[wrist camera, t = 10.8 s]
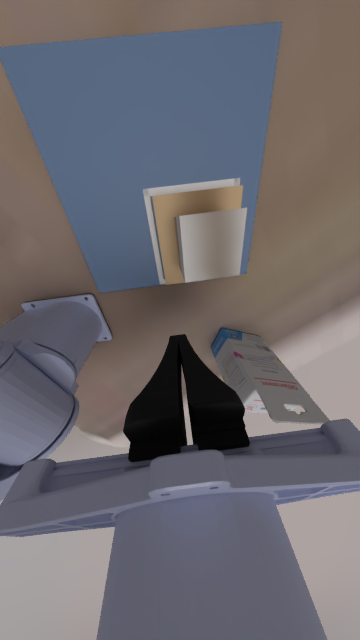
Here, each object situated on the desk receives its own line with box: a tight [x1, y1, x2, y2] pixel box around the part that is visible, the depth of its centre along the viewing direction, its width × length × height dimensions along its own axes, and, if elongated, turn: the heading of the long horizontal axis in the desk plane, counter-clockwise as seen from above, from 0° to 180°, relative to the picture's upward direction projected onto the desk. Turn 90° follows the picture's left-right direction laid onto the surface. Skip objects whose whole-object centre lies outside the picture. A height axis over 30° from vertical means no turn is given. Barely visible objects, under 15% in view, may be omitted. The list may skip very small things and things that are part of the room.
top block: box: [174, 208, 247, 283], centre depth 13 cm, size 4×4×5 cm
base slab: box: [152, 185, 243, 285], centre depth 17 cm, size 8×8×3 cm
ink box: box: [211, 328, 330, 424], centre depth 22 cm, size 8×5×15 cm, turn 72°
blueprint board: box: [0, 22, 282, 293], centre depth 16 cm, size 20×18×1 cm
